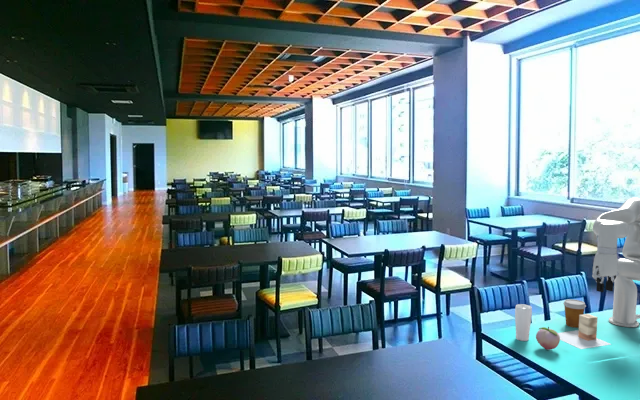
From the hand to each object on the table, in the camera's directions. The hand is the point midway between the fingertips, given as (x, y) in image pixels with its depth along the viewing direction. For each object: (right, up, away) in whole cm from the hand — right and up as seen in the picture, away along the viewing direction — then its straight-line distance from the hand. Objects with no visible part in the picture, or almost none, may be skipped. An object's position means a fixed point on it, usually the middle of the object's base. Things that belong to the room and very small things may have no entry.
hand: (604, 290), depth 224 cm
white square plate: (-12, -22, -2) cm, 25 cm away
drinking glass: (-37, -22, -1) cm, 43 cm away
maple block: (-8, -21, -1) cm, 22 cm away
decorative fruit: (-31, -23, -13) cm, 40 cm away
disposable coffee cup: (-6, -20, +16) cm, 26 cm away
